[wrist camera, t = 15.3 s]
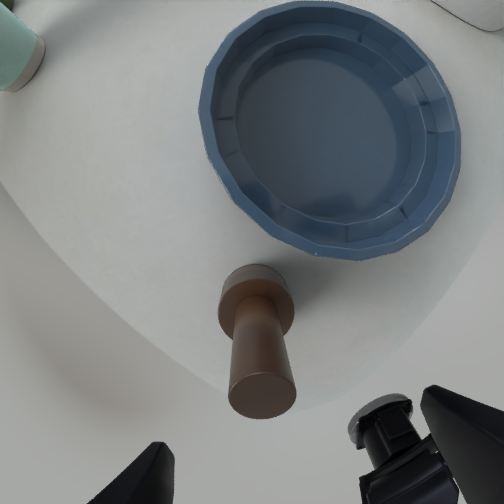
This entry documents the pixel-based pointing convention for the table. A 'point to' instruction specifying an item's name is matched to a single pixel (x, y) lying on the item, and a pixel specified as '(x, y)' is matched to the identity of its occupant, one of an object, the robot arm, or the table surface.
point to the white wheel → (477, 12)
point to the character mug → (7, 3)
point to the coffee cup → (17, 51)
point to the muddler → (258, 341)
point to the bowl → (330, 129)
